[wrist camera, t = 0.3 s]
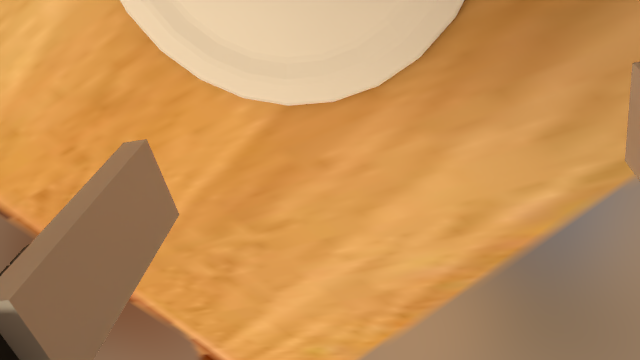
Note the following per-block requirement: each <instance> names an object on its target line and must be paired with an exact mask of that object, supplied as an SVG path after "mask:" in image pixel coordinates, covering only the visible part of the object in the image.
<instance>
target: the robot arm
mask: <svg viewBox="0 0 640 360" xmlns="http://www.w3.org/2000/svg"><path fill="white" fill-rule="evenodd" d="M625 161H626V163H627V164H628V166H629V167H630V168H631V170H632V171H633V172H634V174H635V175H636V176H637V178H638V179H639V181H640V62H636V63H632V76H631V89H630V102H629V115H628V128H627V141H626V154H625ZM178 216H179V213H178V211H177V208H176V206H175V204H174V201H173V199H172V197H171V194H170V192H169V190H168V187H167V185H166V183H165V181H164V178H163V176H162V174H161V171H160V169H159V167H158V164H157V162H156V160H155V157H154V155H153V153H152V151H151V148H150V146H149V144H148V141H147V139H145V140H139V141H132V142H126V143H123V144H122V145H121V146H120V147H119V148H118V150H117V151H116V152H115V153H114V154H113V155H112V156H111V157H110V158H109V159H108V160H107V161H106V162H105V164H104V165H103V166H102V167H101V168H100V169H99V170H98V171H97V172H96V173H95V174H94V175H93V177H92V178H91V179H90V180H89V181H88V182H87V183H86V184H85V185H84V186H83V187H82V188H81V190H80V191H79V192H78V193H77V194H76V195H75V196H74V197H73V198H72V199H71V200H70V201H69V203H68V204H67V205H66V206H65V207H64V208H63V209H62V210H61V211H60V212H59V213H58V214H57V216H56V217H55V218H54V219H53V220H52V221H51V222H50V223H49V224H48V225H47V226H46V227H45V228H44V230H43V231H42V232H41V233H40V234H39V235H38V236H37V237H36V238H35V239H34V240H33V242H32V243H30V244H29V245H27V246H26V247H25V248H23V249H22V250H21V252H20V253H19V254H18V255H17V256H16V257H15V258H14V259H13V260H12V261H11V262H10V265H9V266H6V268H5V269H4V270H3V271H2V272H1V273H0V360H93V359H94V358H95V356H96V354H97V353H98V351H99V349H100V347H101V346H102V344H103V342H104V341H105V339H106V337H107V336H108V334H109V332H110V330H111V329H112V327H113V326H114V324H115V322H116V320H117V319H118V317H119V315H120V314H121V312H122V310H123V309H124V307H125V305H126V304H127V302H128V300H129V299H130V297H131V295H132V293H133V292H134V290H135V288H136V287H137V285H138V283H139V282H140V280H141V278H142V277H143V275H144V273H145V272H146V270H147V268H148V266H149V265H150V263H151V261H152V260H153V258H154V256H155V255H156V253H157V251H158V250H159V248H160V246H161V244H162V243H163V241H164V239H165V238H166V236H167V234H168V233H169V231H170V229H171V228H172V226H173V224H174V223H175V221H176V219H177V217H178Z"/></svg>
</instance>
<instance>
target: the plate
mask: <svg viewBox="0 0 640 360" xmlns="http://www.w3.org/2000/svg"><path fill="white" fill-rule="evenodd" d="M120 1H121V3H122V4H123V6H124V8H125V10H126V11H127V13H128V14H129V15H130V16H131V17H132V18H133V20H134V21H135V22H136V23H137V24H138V25H139V26H140V27H141V29H142V30H143V31H144V32H145V33H146V34H147V35H148V37H149V38H150V39H151V40H152V41H153V42H154V43H155V44H156V46H157V47H158V48H159V49H160V50H161V51H162V52H164V53H165V54H166V55H168V56H169V57H170V58H172V59H173V60H174V61H176V62H177V63H178V64H180V65H181V66H183V67H184V68H185V69H187V70H188V71H189V72H191V73H192V74H193V75H195V76H196V77H198V78H199V79H200V80H203V81H205V82H207V83H210V84H212V85H214V86H217V87H219V88H221V89H224V90H226V91H228V92H230V93H233V94H235V95H237V96H240V97H242V98H246V99H252V100H258V101H264V102H270V103H276V104H282V105H300V104H312V103H324V102H334V101H337V100H340V99H343V98H346V97H348V96H351V95H354V94H357V93H360V92H362V91H365V90H368V89H371V88H374V87H377V86H379V85H380V84H382V83H383V82H385V81H386V80H388V79H389V78H391V77H392V76H394V75H395V74H396V73H398V72H399V71H401V70H402V69H404V68H405V67H407V66H408V65H410V64H411V63H413V62H414V61H416V60H417V59H419V58H420V57H421V56H422V55H423V53H424V52H425V51H426V50H427V49H428V48H429V47H430V46H431V44H432V43H433V42H434V41H435V40H436V39H437V38H438V36H439V35H440V34H441V33H442V32H443V31H444V30H445V29H446V27H447V26H448V25H449V24H450V23H451V22H452V21H453V19H454V18H455V17H456V16H457V14H458V12H459V10H460V8H461V6H462V4H463V2H464V0H120Z"/></svg>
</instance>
